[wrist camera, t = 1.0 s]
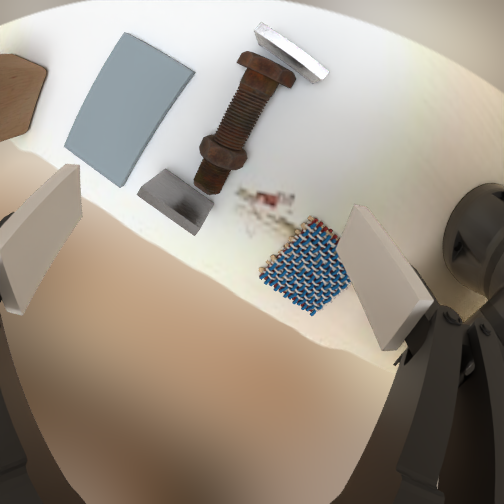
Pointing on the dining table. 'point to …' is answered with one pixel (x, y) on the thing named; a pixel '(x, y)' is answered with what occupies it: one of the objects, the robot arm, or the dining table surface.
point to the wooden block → (18, 94)
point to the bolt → (239, 121)
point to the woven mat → (308, 268)
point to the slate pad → (125, 107)
